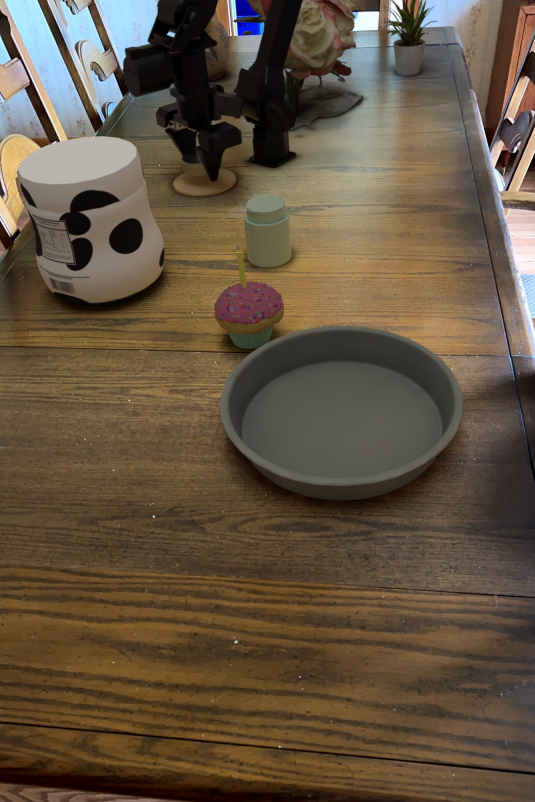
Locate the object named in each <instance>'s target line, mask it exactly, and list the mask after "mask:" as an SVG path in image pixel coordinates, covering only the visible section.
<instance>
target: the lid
mask: <svg viewBox="0 0 535 802" xmlns="http://www.w3.org/2000/svg"><path fill="white" fill-rule="evenodd" d="M222 167H223V160H221V164H220V169H221V168H222ZM181 168H182V171H183V173H186V174H188V175H192V176H204V175H207V173H206V170H205V168H204V166H203V164H202V161H201V159H200V157H199V155H198V153H197V150H192V151H189V152H187V153H185V154H184V155H183V156H182V155H181ZM220 169H219V170H220Z"/></svg>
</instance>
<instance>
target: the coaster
mask: <svg viewBox="0 0 535 802" xmlns="http://www.w3.org/2000/svg"><path fill="white" fill-rule="evenodd" d="M172 183H173V184H172V185H173V189H174V190H175V191H176V192H177V193H179V194H181V195H184V196H187V197H188V196H190V197H207V196H214V195H218V194H220V193H223V192H227V190H229V189H231V188H232V187H234V186H235V184H236V183H237V176H236V174H235V173H234V172H233V171H231V170H229V169H226V168H221V169H220V170H219V174H218V179H217V181H214V182H211V181H210V179H209V177H208V175H204V176H192V175H188V174H186V173H185V172H183V173H181V174H179V175H178V176H177V177H176V178H174V180H173V182H172Z"/></svg>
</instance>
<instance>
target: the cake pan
mask: <svg viewBox="0 0 535 802" xmlns="http://www.w3.org/2000/svg"><path fill="white" fill-rule="evenodd" d="M463 412H464V397H463V392H462V387H461V386H460V383H459V381H458V379H457V377H456V375H455V373H454V372H453V371H452V369H451V368H450V367H449V365H447V363H446V362H445V360H443V359H442V358H441V357H439V355H437V353H435V352H434V351H432V350H430V349H429V348H428V347H426V346H425V345H422V343H419V342H417V341H415V340H413V339H411V338H409V337H406V336H403V335H400V334H397V333H395V332H391V331H387V330H384V329H379V328H374V327H367V326H358V325H327V326H318V327H311V328H307V329H302V330H301V329H300V330H298V331H294V332H290V333H287V334H285V335H282V336H280V337H277V338H274V339H273V340H269V341H268V342H267V343H266V344H264V345H263V346H261V347H259V348H255V350H253V351H251V352H250V353H249V354H248V355H246V356H245V357H244V358H243V359H242V360H240V362H239V363H238V364H237V365H236V366H235V368H234V369H233V370H232V371H231V373H230V374H229V376H228V378H227V379H226V382H225V383H224V386H223V388H222V391H221V394H220V400H219V414H220V419H221V424H222V426H223V429H224V431H225V433H226V435H227V437H228V438H229V439H230V441H231V442H232V444H233V445H234V446H235V447H236V449H238V451H239V452H240V453H241V454H242V455H243V456H245V457H246V459H248V460H249V461H250V462H251V464H252V465H253V466H254V467H255V468H256V470H257V471H258V472H259V473H261V474H262V475H263V476H264V477H265V478H266V479H267V480H269V481H271V482H272V483H274V484H275V485H277V486H279V487H281V488H283V489H285V490H288V491H290V492H292V493H295V494H298V495H302V496H305V497H309V498H314V499H320V500H325V501H355V500H356V501H357V500H363V499H364V500H365V499H369V498H370V499H371V498H374V497H378V496H382V495H385V494H389V493H390V492H393V491H396V490H398V489H400V488H402V487H404V486H406V485H408V484H410V483H411V482H413V481H415V479H417V478H418V477H419V476H421V475H422V474H423V473H425V471H426V470H427V469H428V468H429V467H430V466H431V465H432V463H433V462H434V461H435V459H436V457H437V456H438V455H439V454H440V453H441V452H442V451H444V450H445V448H446V447H447V446H448V445H449V444H450V442H451V441H452V440H453V438H454V437H455V435H456V433H457V431H458V430H459V427H460V425H461V423H462V422H461V421H462V419H463V414H464V413H463Z"/></svg>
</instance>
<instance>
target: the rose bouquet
mask: <svg viewBox="0 0 535 802" xmlns="http://www.w3.org/2000/svg"><path fill="white" fill-rule="evenodd" d="M271 1H272V0H246V2H247V3H248V4H249V6H250V7H251V9H252V11H254V12H255V13H256V14H257V16H250V15H246V16H242V17H239V18H235V19H233V20H232V22H233V23H239V22H241V23H250V24H262V23H263V24H265V23H266V20H267V16H268V12H269V8H270V5H271ZM355 8H356V5H355V4H354V3H353V2H352V1H351V0H303V2H302V5H301V9H300V12H299V16H298V19H297V23H296V26H295V30H294V33H293V37H292V40H291V44H290V48H289V51H288V55H287V58H286V62H285V65H284V70H283V71H284V74H285V76H284V80H285V87H286V92H285V99H284V104H285V105H286V106H287V107H288V108H289V109H291V110H292V111H293V112H294V113H295V114H296V115H297V118H296V122H295V126H294V128H291V129H290V130H293V129H297V128H299V127H303V126H307V127H308V128H311V129H312V127H311V126H310V125H311V123H312V122H313V121H314V120H316V119H317V118H324V117H328V118H329V117H336V116H338V115H342V113H345V112H347V111H349V110H350V109H351V108H352V107H353V106H354V105H355V104H356V103H357V102H359V101H360V100H361V99H364V95H358V94H357V93H354V92H344V91H336V90H329V89H327V88H326V87H324V86H323V81H322V77H324V76H327V75H329V74H332V75H333V76H336V77H337V79H336V80H337V81H338V82H340V83H347V80H346V79H345V78H344V77H349V76H350V75H351V74H352V73H353V72H352V67H350V66H348V65H345V64H347V61H341V60H340V59H339V58H341V57H342V56H343V55H344V52H345V51H347V50H350V49H356V48H357V44H356V41H355V40H354V38H353V37H354V36H353V34H352V33H351V32H352V31H353V30H354V29H355V19H356V16H355V14H354V13H353V10H355ZM264 27H265V25H263V28H264ZM252 32H253V31H252V30H245V31H243V32H241V33H242V35H243V36H252V35H253V33H252ZM250 67H251V66H249V67H248V69H249V68H250ZM288 70H289V71H288ZM311 76H312V77H317V78H318V79H319V84H317V86H316V85H312V86H303V85H304V84H305V80H306V79H307V78H309V77H311ZM234 89H235V88H233V89H231V91H230V94H233V95H236V93H234V92H233V91H234Z"/></svg>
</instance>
